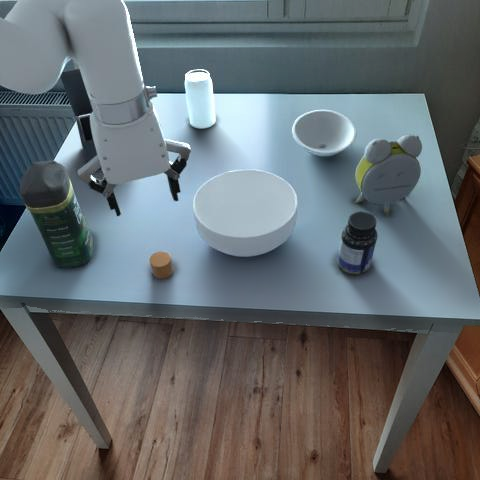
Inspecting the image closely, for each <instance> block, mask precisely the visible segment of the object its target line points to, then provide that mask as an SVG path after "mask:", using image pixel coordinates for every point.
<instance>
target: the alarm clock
mask: <svg viewBox="0 0 480 480" xmlns="http://www.w3.org/2000/svg"><path fill="white" fill-rule="evenodd" d="M422 150H423V144H422V141H421V139H420V136H419V135H415V134H405V135H403V136H401V137H400V138H399V139H398V140H397V141H395V140H394V141H388V140H386V139H384V138H374V139H372V140H371V141H370V142H369V143H367V145H366V147H365V149H364V155H363V156H362V157H361V159H360V160H359V161H358V163H357V166H356V168H355V176H354V177H355V182H356V185H357V186H358V188H359V191H360V194H359V196H358V197H357V198H356V200H355V203H356V204H360V203H361V202H363V201H365V200H366V202H368V203H370V204H373V205H377V206H382V207H383V208H382V209H383V212H384V215H385V216H389V215H390V209H391V205H392V204H394V203H397V202H399V201H401V200H403V199H404V198H406V197H407V196H408V195H409V194H410V193H412V192H413V190H414V189H415V188H416V186H417V185H418V183H419V180H420V179H421V174H422V170H421V169H422V168H421V164H420V161H419V160H418V158H419V156H421V153H422Z"/></svg>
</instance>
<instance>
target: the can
mask: <svg viewBox="0 0 480 480" xmlns="http://www.w3.org/2000/svg"><path fill="white" fill-rule="evenodd" d="M184 88H185V90H184V91H185V95H186V105H187V111H188V119H189V123H190V126H191V127H193V128H194V129H208V128H211V127H212V126H214V124H215V123H216V113H215V102H214V101H215V100H214V89H213V81H212V78H211V77H210V73H209V71H208V70H205V69H193V70H189V71H188V72H187V73H186V74H185V80H184Z"/></svg>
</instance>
